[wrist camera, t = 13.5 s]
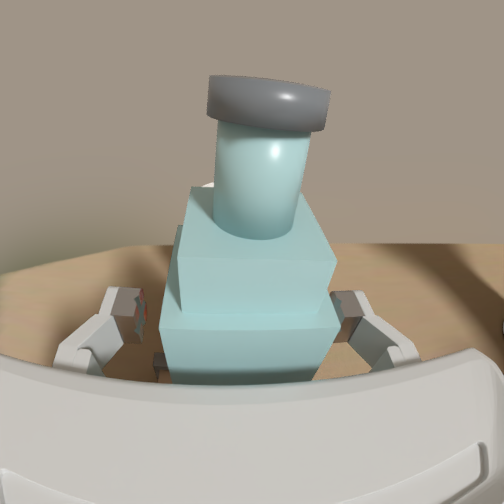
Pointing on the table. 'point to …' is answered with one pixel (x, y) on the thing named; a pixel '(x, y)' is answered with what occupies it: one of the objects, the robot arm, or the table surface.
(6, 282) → the table surface
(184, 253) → the bottle
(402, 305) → the table surface
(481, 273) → the table surface
